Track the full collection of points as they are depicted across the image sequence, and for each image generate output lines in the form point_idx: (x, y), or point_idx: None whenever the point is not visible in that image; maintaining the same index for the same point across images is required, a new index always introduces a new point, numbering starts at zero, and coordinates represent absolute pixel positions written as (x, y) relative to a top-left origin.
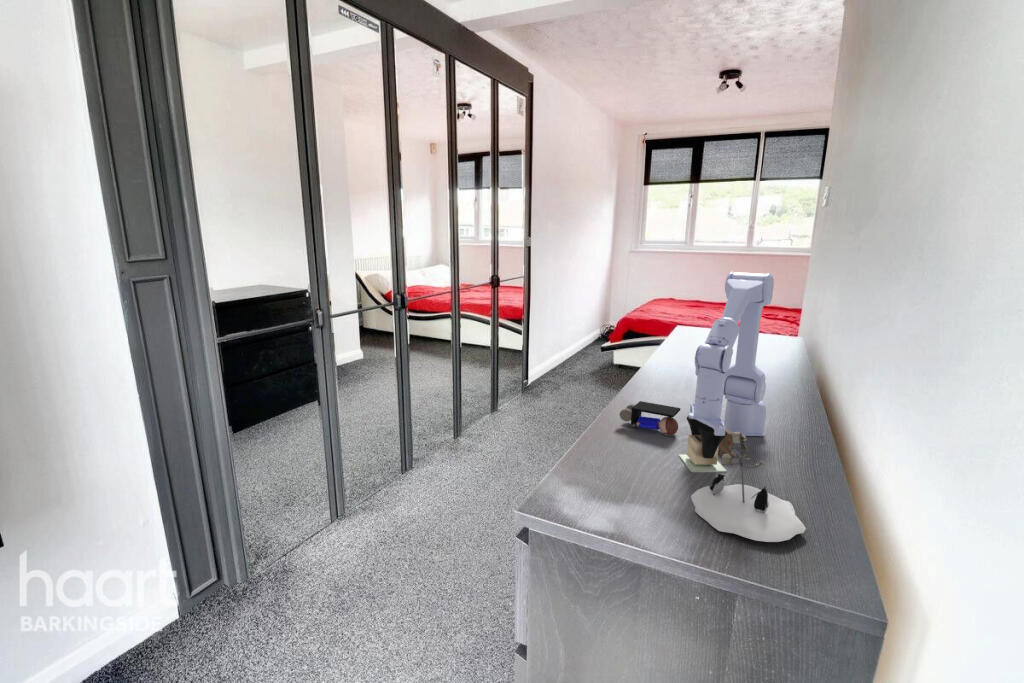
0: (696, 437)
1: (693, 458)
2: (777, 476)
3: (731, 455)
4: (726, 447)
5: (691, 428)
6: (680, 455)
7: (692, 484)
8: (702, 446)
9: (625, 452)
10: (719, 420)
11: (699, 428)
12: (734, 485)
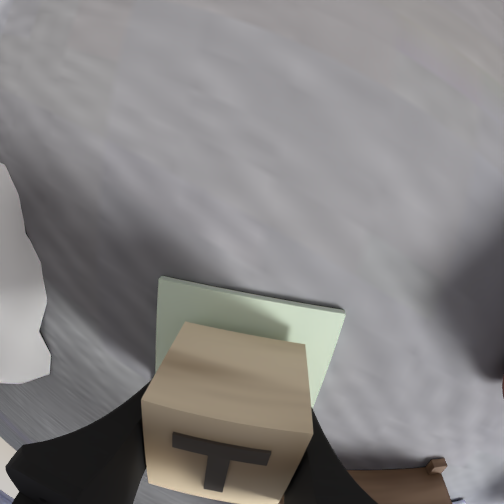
0: (246, 453)
1: (204, 338)
2: (141, 485)
3: None
4: (283, 495)
5: (328, 486)
6: (331, 317)
7: (65, 217)
8: (137, 413)
9: (434, 42)
10: None
11: (66, 497)
12: (11, 340)
